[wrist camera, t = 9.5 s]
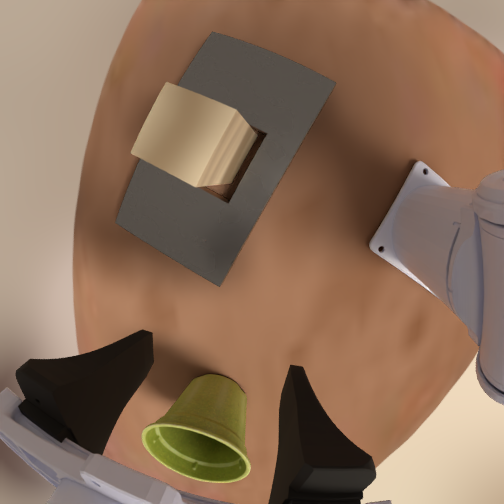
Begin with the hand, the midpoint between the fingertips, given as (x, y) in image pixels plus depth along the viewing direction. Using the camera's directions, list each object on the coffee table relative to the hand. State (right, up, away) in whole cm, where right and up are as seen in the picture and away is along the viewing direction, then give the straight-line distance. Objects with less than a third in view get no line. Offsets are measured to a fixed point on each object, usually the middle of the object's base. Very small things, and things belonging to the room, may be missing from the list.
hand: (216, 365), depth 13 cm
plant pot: (-2, -9, +13) cm, 16 cm away
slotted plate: (-1, +13, +6) cm, 14 cm away
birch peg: (-1, +13, +6) cm, 15 cm away
